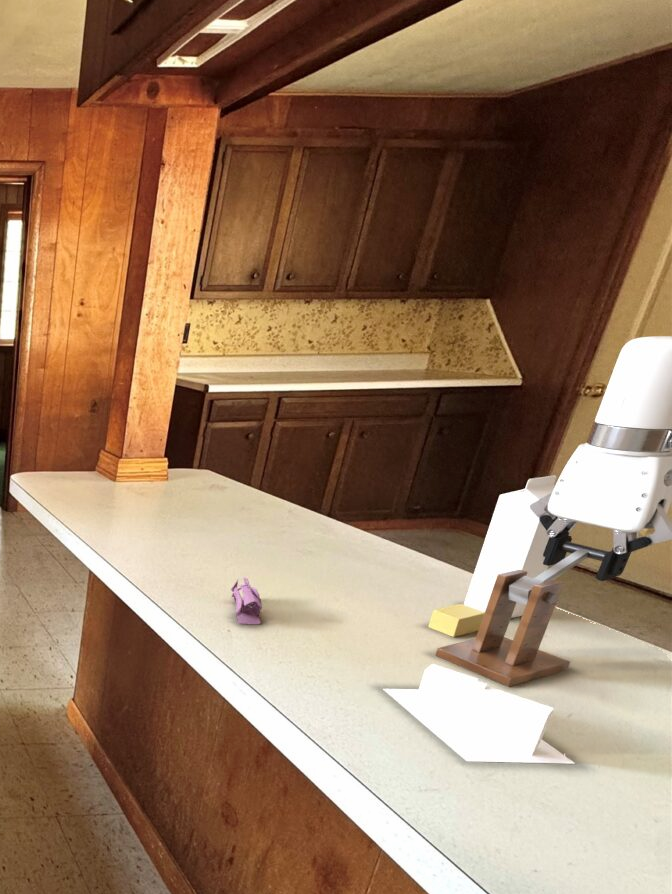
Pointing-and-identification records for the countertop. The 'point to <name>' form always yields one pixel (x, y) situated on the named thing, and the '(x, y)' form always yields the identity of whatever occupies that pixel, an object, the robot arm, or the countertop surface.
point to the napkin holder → (480, 718)
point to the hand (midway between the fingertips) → (578, 569)
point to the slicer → (504, 655)
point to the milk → (511, 542)
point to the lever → (554, 570)
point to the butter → (456, 620)
